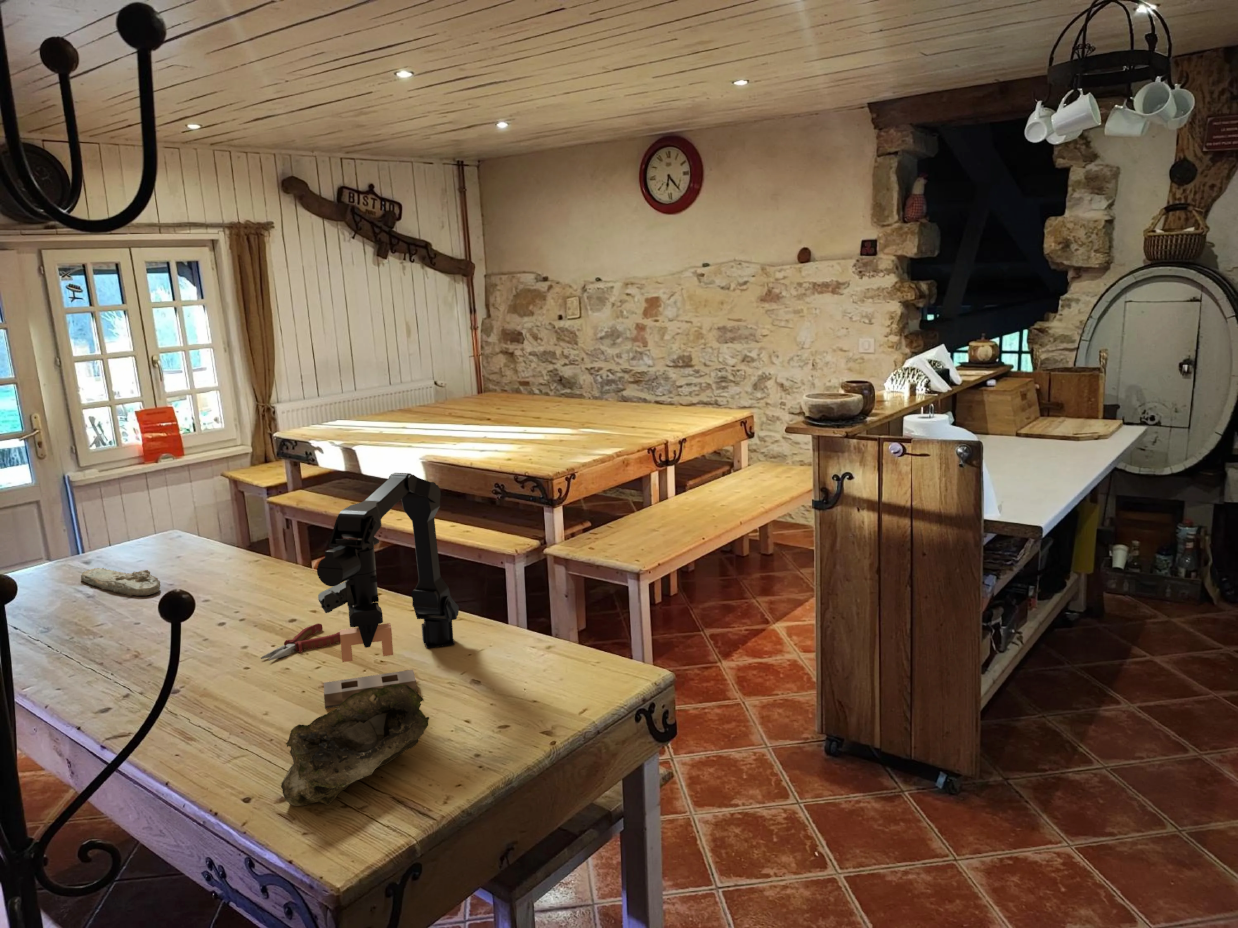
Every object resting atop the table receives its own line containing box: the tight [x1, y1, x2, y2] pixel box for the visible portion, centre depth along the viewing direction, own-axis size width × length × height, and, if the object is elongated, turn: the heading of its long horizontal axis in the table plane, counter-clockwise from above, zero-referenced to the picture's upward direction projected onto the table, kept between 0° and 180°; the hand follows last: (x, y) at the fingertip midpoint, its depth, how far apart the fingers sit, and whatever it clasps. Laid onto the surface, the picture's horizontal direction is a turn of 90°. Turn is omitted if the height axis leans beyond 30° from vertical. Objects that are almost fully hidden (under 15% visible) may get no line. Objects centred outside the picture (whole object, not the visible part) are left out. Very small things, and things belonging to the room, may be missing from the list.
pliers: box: [260, 623, 341, 661], centre depth 212 cm, size 12×20×3 cm, turn 148°
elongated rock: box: [80, 567, 161, 597], centre depth 261 cm, size 35×5×10 cm
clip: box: [339, 622, 394, 663], centre depth 183 cm, size 10×3×6 cm, turn 108°
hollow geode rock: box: [280, 684, 430, 807], centre depth 154 cm, size 28×13×15 cm
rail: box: [323, 669, 418, 710], centre depth 185 cm, size 18×6×3 cm, turn 108°
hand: (367, 644), depth 183 cm, fingers closed on clip, 3 cm apart
